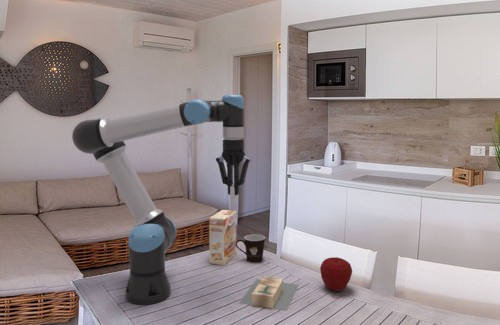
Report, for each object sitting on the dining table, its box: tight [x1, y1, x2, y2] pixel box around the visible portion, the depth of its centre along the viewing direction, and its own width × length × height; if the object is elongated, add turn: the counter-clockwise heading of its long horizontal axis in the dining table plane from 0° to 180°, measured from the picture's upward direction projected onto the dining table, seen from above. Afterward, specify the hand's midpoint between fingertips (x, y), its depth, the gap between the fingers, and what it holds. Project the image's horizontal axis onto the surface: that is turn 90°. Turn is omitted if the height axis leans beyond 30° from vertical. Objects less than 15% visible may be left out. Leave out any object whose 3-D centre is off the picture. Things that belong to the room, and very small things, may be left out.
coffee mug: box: [236, 234, 266, 264], centre depth 173 cm, size 12×9×10 cm
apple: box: [319, 256, 353, 292], centre depth 145 cm, size 11×11×12 cm
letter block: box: [251, 276, 284, 310], centre depth 138 cm, size 7×4×14 cm
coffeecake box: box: [208, 209, 238, 266], centre depth 174 cm, size 15×7×20 cm, turn 162°
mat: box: [238, 278, 300, 311], centre depth 141 cm, size 16×20×1 cm
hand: (233, 203), depth 149 cm, fingers closed
